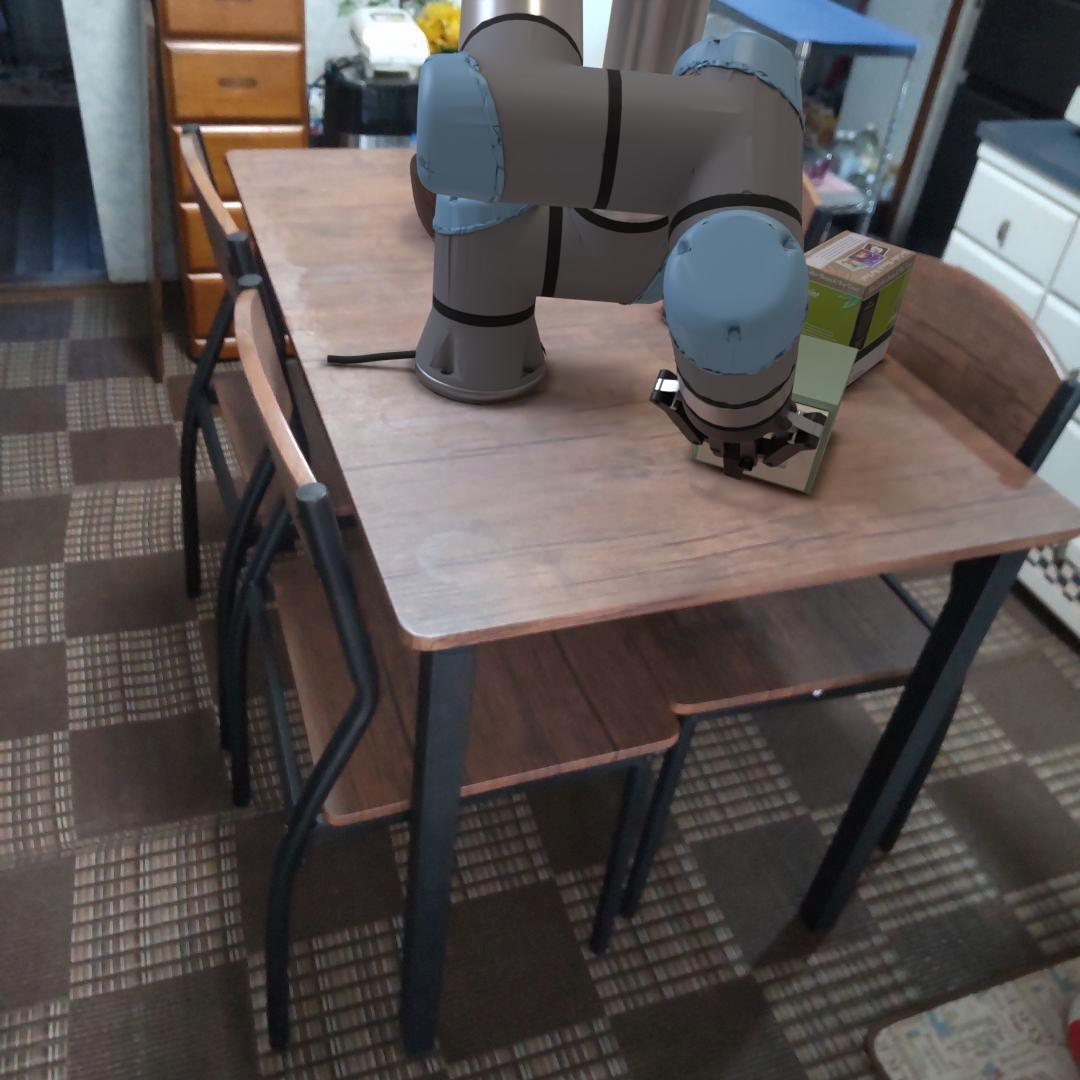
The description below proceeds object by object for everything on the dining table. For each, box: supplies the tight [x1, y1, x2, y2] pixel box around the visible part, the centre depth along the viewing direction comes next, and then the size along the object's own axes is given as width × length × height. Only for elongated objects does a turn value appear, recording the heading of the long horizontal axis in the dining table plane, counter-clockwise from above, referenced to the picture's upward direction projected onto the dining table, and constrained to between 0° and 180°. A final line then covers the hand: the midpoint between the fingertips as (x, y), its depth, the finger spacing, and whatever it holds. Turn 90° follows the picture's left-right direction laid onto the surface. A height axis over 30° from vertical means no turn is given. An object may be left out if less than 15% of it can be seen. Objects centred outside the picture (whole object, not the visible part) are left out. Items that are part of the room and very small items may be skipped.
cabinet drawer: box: [696, 402, 829, 491], centre depth 104 cm, size 17×12×9 cm
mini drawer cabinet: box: [691, 334, 858, 495], centre depth 107 cm, size 14×13×11 cm
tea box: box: [801, 229, 918, 387], centre depth 123 cm, size 15×10×15 cm
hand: (737, 463), depth 88 cm, fingers closed
